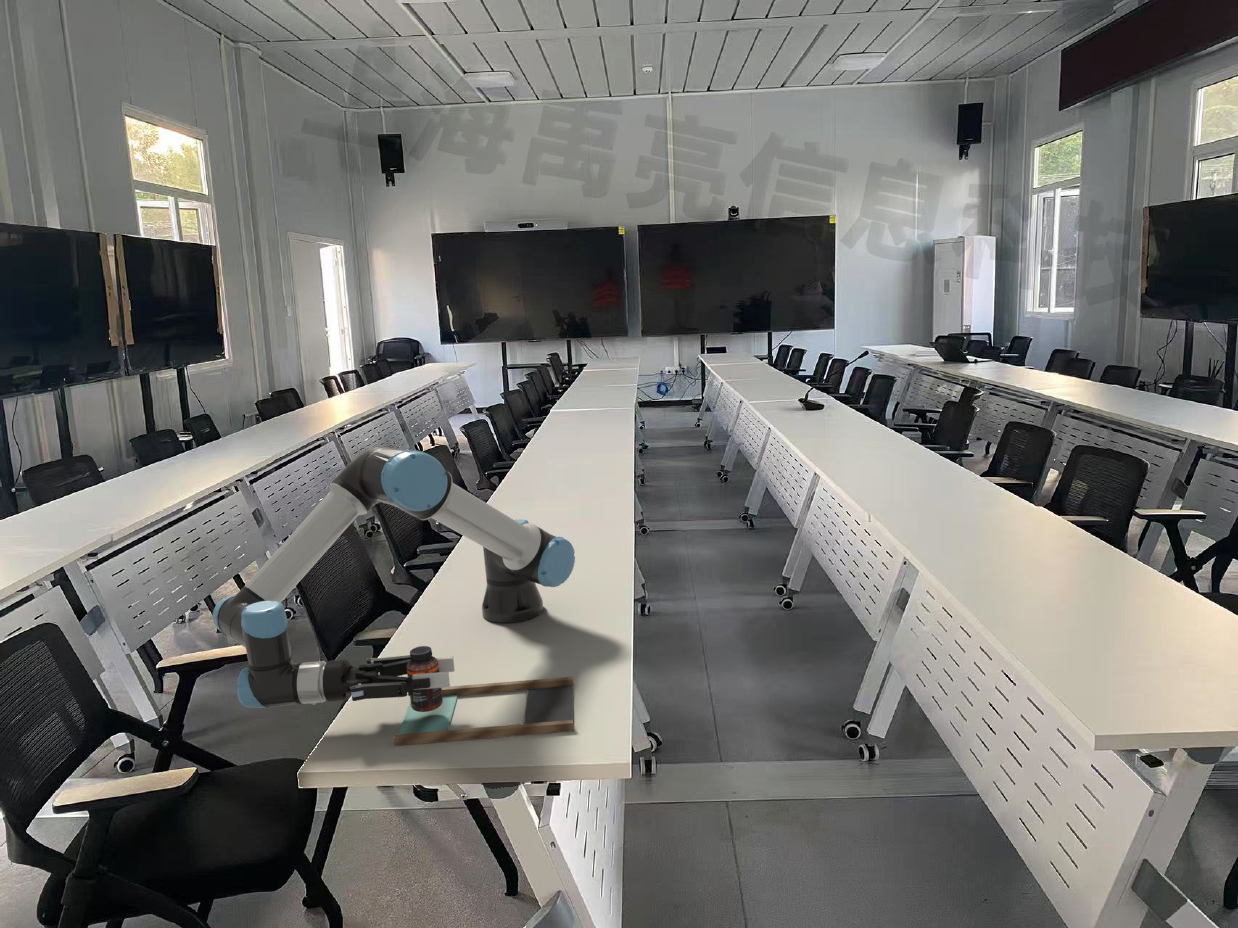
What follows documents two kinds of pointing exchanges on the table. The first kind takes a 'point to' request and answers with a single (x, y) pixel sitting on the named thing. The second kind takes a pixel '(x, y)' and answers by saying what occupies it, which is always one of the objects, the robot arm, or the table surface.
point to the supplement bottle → (420, 665)
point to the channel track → (543, 715)
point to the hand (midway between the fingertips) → (451, 671)
